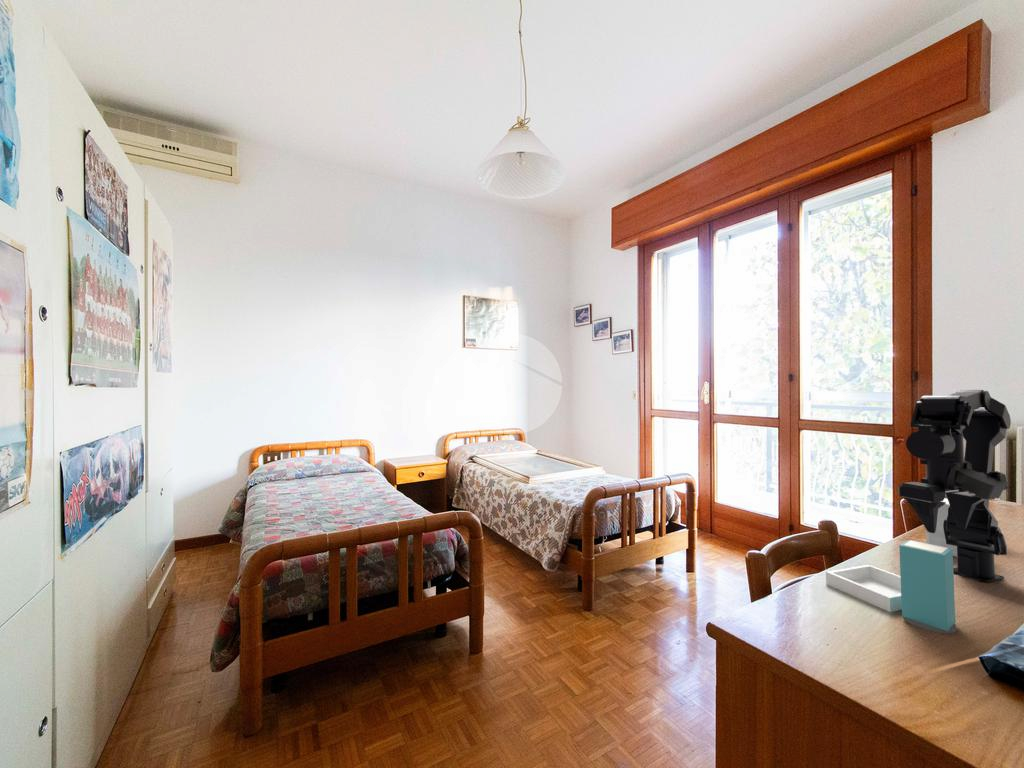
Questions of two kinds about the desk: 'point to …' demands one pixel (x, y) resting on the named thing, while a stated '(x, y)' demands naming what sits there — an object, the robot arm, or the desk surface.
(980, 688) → the desk surface
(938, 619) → the teal carton
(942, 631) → the charcoal coaster
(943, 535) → the small box
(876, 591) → the white tray
